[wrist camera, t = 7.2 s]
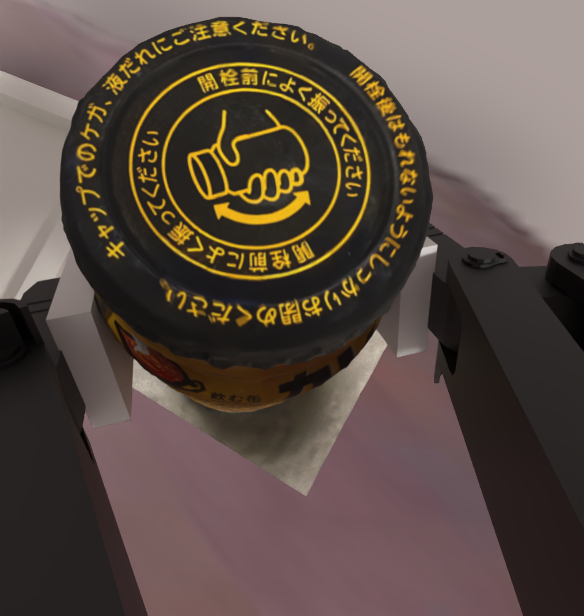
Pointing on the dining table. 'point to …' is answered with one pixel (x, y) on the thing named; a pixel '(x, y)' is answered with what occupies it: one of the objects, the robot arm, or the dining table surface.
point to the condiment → (247, 228)
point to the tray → (31, 184)
